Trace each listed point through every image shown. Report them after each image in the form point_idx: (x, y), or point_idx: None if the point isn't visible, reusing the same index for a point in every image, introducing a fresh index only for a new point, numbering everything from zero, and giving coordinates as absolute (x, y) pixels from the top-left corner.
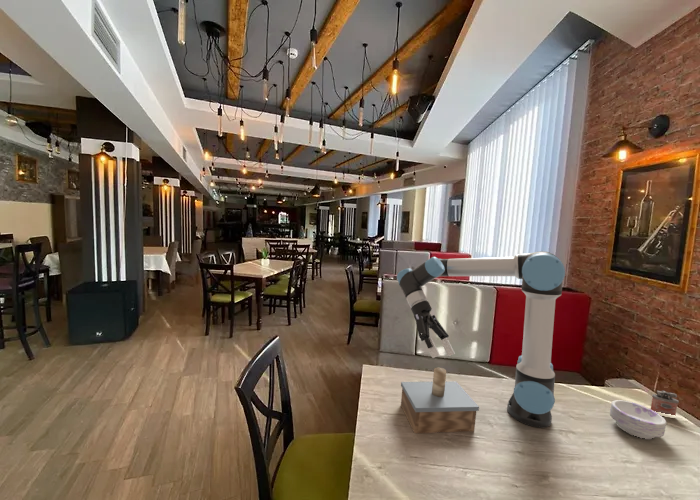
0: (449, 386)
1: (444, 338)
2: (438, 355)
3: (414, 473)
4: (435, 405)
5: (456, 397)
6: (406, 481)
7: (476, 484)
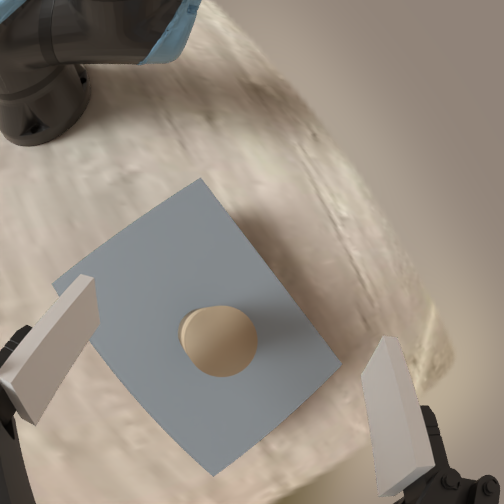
0: (112, 303)
1: (18, 396)
2: (383, 342)
3: (397, 305)
4: (291, 316)
5: (185, 260)
6: (415, 309)
7: (355, 198)
